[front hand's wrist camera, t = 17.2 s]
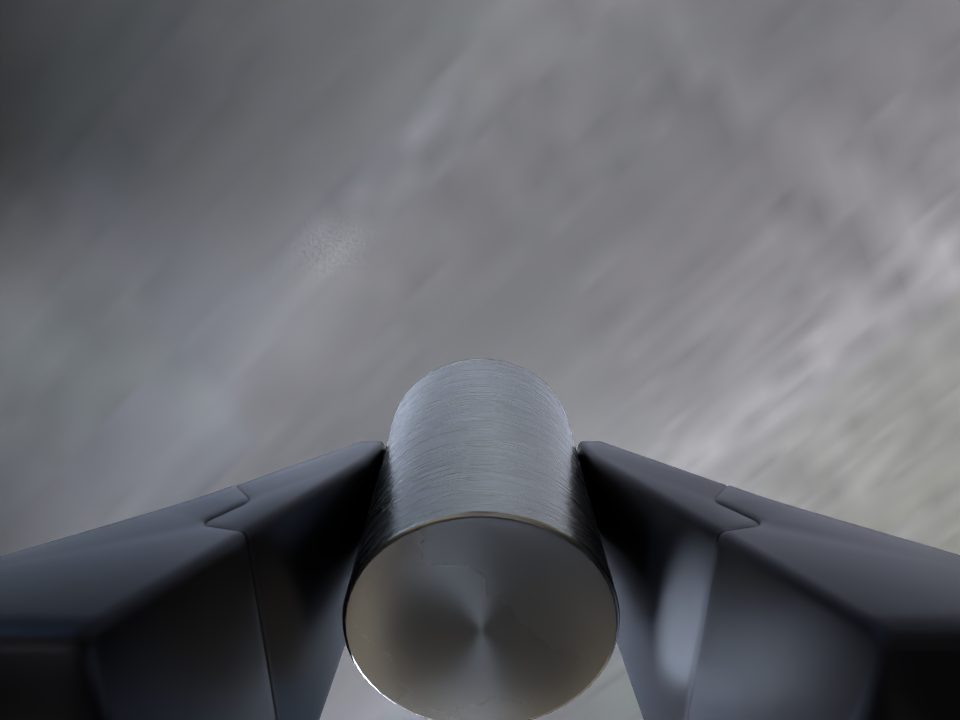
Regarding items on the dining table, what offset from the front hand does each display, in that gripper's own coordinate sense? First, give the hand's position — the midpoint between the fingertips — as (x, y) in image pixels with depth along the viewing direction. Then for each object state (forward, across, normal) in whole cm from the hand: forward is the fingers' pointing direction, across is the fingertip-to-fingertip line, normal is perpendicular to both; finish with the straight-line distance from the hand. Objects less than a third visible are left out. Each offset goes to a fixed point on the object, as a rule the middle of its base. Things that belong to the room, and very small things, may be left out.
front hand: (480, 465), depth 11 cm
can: (+1, 0, 0) cm, 1 cm away
